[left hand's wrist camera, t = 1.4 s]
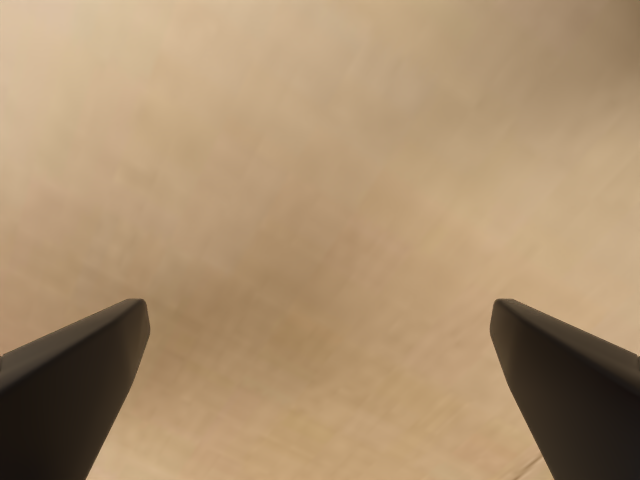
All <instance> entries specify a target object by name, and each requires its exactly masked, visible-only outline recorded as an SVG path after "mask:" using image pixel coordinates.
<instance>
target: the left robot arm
mask: <svg viewBox="0 0 640 480" xmlns="http://www.w3.org/2000/svg"><path fill="white" fill-rule="evenodd" d="M149 335H150V323H149V317H148V311H147V305H146V302H145V301H144V300H143V299H126V300H124V301H122V302H120V303H117V304H115V305H113V306H111V307H108V308H106V309H104V310H102V311H100V312H97V313H95V314H93V315H91V316H88V317H86V318H84V319H82V320H79V321H77V322H75V323H73V324H71V325H68V326H66V327H64V328H62V329H59V330H57V331H55V332H53V333H50V334H48V335H46V336H44V337H41V338H39V339H37V340H35V341H33V342H30V343H28V344H26V345H24V346H21V347H19V348H17V349H15V350H12V351H10V352H8V353H6V354H4V355H3V356H2V357H1V356H0V480H86V478H87V476H88V474H89V472H90V470H91V468H92V465H93V463H94V461H95V459H96V457H97V455H98V453H99V451H100V449H101V447H102V445H103V443H104V441H105V439H106V437H107V435H108V433H109V431H110V429H111V427H112V425H113V423H114V421H115V419H116V417H117V415H118V413H119V411H120V409H121V407H122V405H123V403H124V401H125V398H126V396H127V394H128V392H129V390H130V388H131V386H132V383H133V381H134V378H135V375H136V373H137V370H138V367H139V364H140V361H141V358H142V356H143V353H144V350H145V347H146V344H147V341H148V338H149ZM490 335H491V338H492V341H493V344H494V347H495V350H496V353H497V356H498V358H499V361H500V364H501V367H502V370H503V373H504V375H505V378H506V381H507V383H508V386H509V388H510V390H511V392H512V394H513V396H514V398H515V401H516V403H517V405H518V407H519V409H520V411H521V413H522V415H523V417H524V419H525V421H526V423H527V425H528V427H529V429H530V431H531V433H532V435H533V437H534V439H535V441H536V443H537V445H538V447H539V449H540V451H541V453H542V455H543V457H544V459H545V461H546V463H547V465H548V468H549V470H550V472H551V474H552V476H553V478H554V480H640V356H639V357H638V356H637V355H636V354H634V353H632V352H630V351H628V350H625V349H623V348H621V347H619V346H616V345H614V344H612V343H610V342H607V341H605V340H603V339H601V338H599V337H596V336H594V335H592V334H590V333H587V332H585V331H583V330H581V329H578V328H576V327H574V326H572V325H569V324H567V323H565V322H563V321H561V320H558V319H556V318H554V317H552V316H549V315H547V314H545V313H543V312H540V311H538V310H536V309H534V308H532V307H529V306H527V305H525V304H523V303H520V302H518V301H516V300H514V299H497V300H496V301H495V302H494V305H493V311H492V317H491V323H490Z"/></svg>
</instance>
